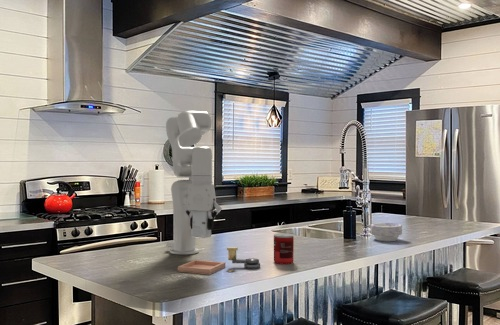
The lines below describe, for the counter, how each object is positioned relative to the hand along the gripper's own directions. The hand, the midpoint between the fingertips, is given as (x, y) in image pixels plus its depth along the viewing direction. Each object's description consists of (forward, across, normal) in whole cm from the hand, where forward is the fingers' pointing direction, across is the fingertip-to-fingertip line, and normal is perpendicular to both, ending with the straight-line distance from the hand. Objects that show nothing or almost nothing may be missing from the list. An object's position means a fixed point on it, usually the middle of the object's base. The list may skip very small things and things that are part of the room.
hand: (202, 228), depth 187 cm
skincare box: (+3, 0, 0) cm, 3 cm away
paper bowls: (+15, +54, +94) cm, 110 cm away
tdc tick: (+15, +11, +1) cm, 19 cm away
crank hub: (+15, +16, +10) cm, 24 cm away
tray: (+15, 0, 0) cm, 15 cm away
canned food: (+15, +24, +23) cm, 37 cm away
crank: (+13, +13, +9) cm, 20 cm away
